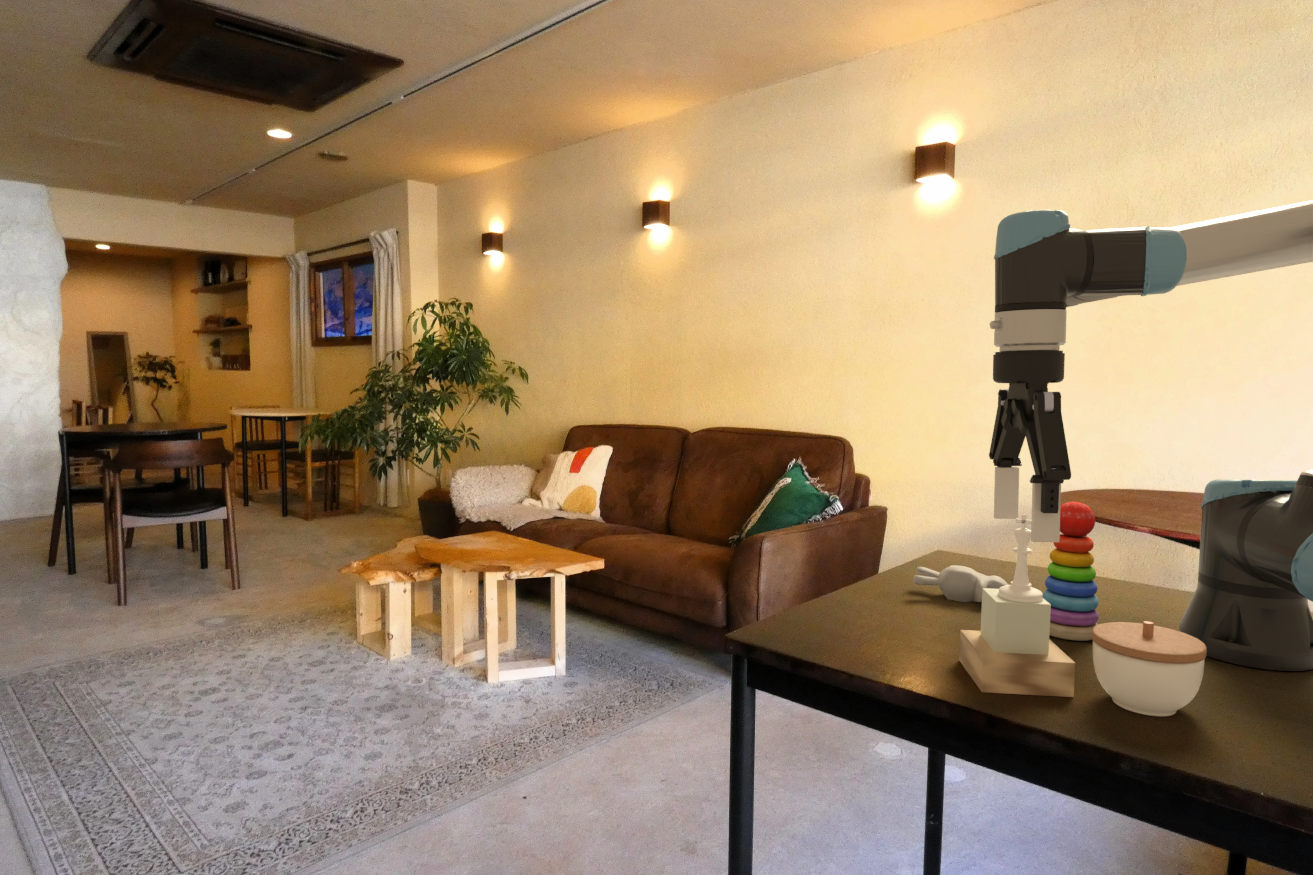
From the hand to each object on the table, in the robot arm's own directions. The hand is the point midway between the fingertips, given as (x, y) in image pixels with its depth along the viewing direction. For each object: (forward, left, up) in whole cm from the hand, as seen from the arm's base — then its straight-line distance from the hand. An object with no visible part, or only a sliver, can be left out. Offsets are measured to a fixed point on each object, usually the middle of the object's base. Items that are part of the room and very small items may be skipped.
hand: (1024, 529), depth 93 cm
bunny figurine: (-2, -34, -18) cm, 39 cm away
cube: (+1, 0, -14) cm, 14 cm away
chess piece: (0, 0, -8) cm, 8 cm away
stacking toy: (-13, -18, -18) cm, 29 cm away
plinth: (0, 0, -18) cm, 18 cm away
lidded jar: (-12, +6, -18) cm, 22 cm away
